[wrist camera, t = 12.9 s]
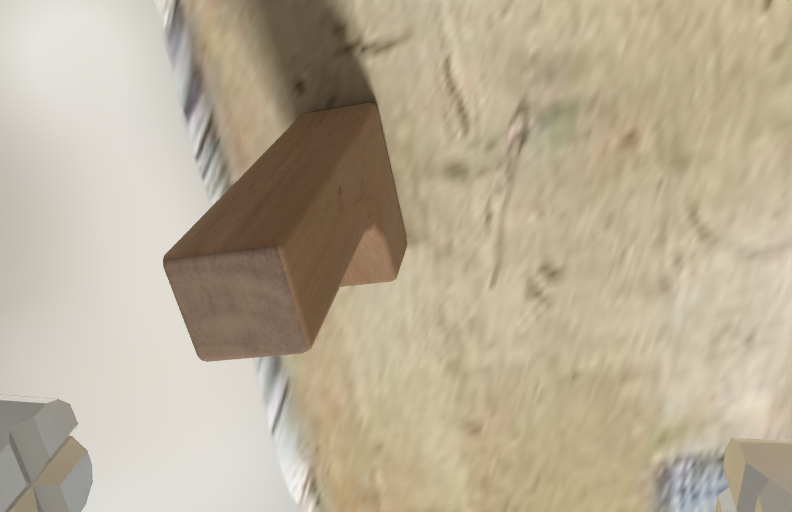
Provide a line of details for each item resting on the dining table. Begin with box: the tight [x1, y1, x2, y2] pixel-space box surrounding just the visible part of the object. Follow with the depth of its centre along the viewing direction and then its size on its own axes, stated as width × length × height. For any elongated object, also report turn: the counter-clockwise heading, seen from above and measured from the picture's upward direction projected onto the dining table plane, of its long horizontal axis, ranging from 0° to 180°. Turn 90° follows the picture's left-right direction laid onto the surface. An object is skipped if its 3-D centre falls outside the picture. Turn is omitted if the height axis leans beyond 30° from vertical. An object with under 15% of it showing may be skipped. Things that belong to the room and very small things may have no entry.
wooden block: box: [163, 103, 407, 362], centre depth 34 cm, size 9×4×18 cm, turn 12°
